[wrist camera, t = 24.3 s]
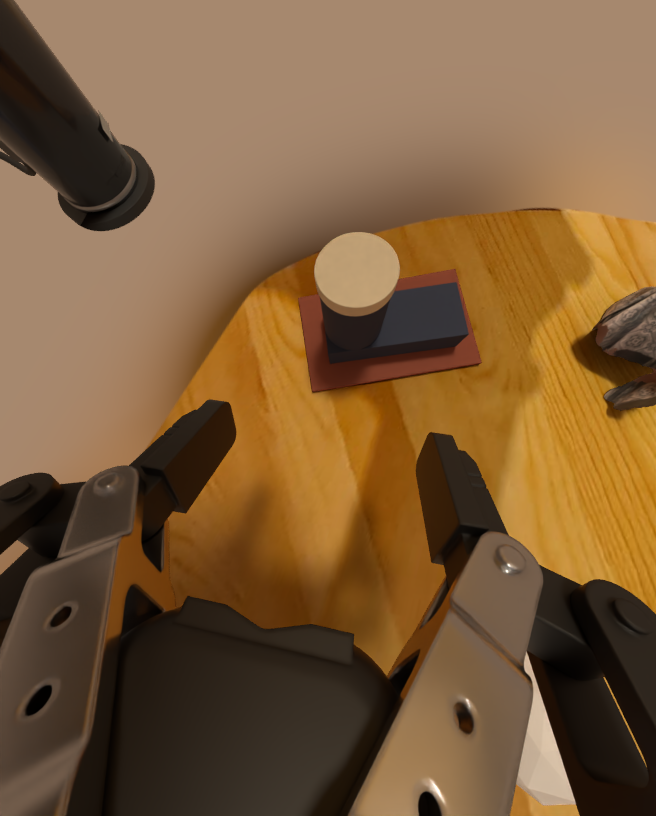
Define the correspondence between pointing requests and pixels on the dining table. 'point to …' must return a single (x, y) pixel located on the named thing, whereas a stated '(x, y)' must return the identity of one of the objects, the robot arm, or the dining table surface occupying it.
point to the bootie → (381, 303)
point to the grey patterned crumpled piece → (631, 345)
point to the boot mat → (386, 366)
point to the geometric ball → (542, 756)
